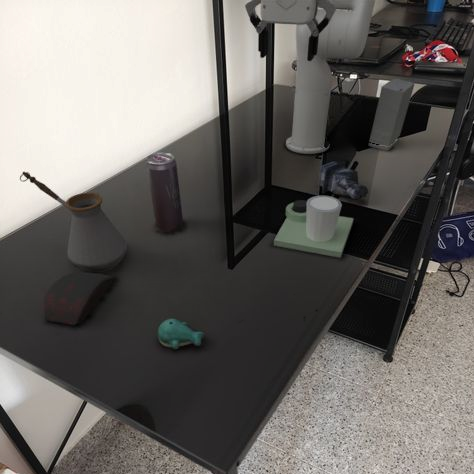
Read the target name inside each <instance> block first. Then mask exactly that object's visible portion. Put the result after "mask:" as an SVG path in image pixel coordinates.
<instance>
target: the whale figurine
mask: <svg viewBox="0 0 474 474" xmlns="http://www.w3.org/2000/svg"><path fill="white" fill-rule="evenodd" d="M157 329H158V330H157V337H158V338H157V339H158V341H159V342H160V344H161V345H162V346H164V347H166V348H172V349H174V350H177V349H179V347H183V346H187V345H191V344H193V345H195V346H197V347H198V346H201V344H202V339H203V338H204V337H205V333H204V332H203V331H194V330H193V329H191V328H190V327H189V324H188V322H186V321H184V322H181V321H180V320H178V319H177V318H168V319H165V320H164V321H163V322H162V323H160V325H159V326H158V328H157Z"/></svg>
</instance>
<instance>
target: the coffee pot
mask: <svg viewBox="0 0 474 474" xmlns="http://www.w3.org/2000/svg"><path fill="white" fill-rule="evenodd" d="M23 176H24V177H25V178H26V179H24V180H22V177H23ZM19 180H20V182H23V183H24V182H26V181H28V180H29V182H30V183H31V184H34V185H35V186H36V188H38V189H39V190H40V191H42V192H43V193H44V194H46V195H48V196H49V197H50V198H52V199H53V200H55V201H56V202H58V203H60V204H61V205H62V206H63V207H64V208H66V209H67V210H69V211H70V212H71V214H72V215H71V221H70V222H71V223H70V230H69V237H68V245H67V252H66V254H67V257H68V259H69V261H71V263H72V264H74V266H75V267H78V268H80V269H83V270H85V271H88V272H90V273H102V272H106V271H109V270H112V269H113V268H115V267H117V266H118V265H119V263H120V262H121V261H122V260H123V259H124V257H125V256H126V253H127V251H128V250H127V249H128V243H127V241H126V239H125V238H124V236H123V235H122V234H121V232H120V231H119V230H118V229H117V227H116V226H115V225H114V224H113V222H112V221H111V220H110V219H109V217H108V216H107V214H106V213H105V212H104V211H103V210H102V208H101V207H102V206H101V204H102V203H103V197H102V196H101V195H100V194H99V192H81V193H78V194H74V195H72V196H70V197H68V198H67V200H64V199H62V198H61V197H60V196H59V195H58V194H57V193H55V192H54V191H53V190H52V189H51V188H49V186H47V185H46V184H45V183H43V182H41V181H40V180H37V178H36V176H32V175H31V173H29V172H27V171H22V173H21V175H20V176H19Z"/></svg>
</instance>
